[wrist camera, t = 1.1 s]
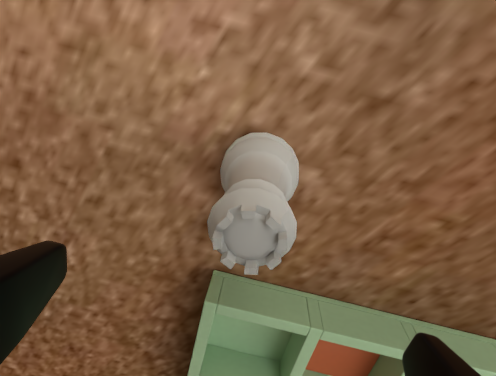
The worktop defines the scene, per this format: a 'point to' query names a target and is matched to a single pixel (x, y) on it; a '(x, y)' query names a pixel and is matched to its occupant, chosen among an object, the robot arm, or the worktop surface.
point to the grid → (310, 335)
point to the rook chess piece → (255, 203)
